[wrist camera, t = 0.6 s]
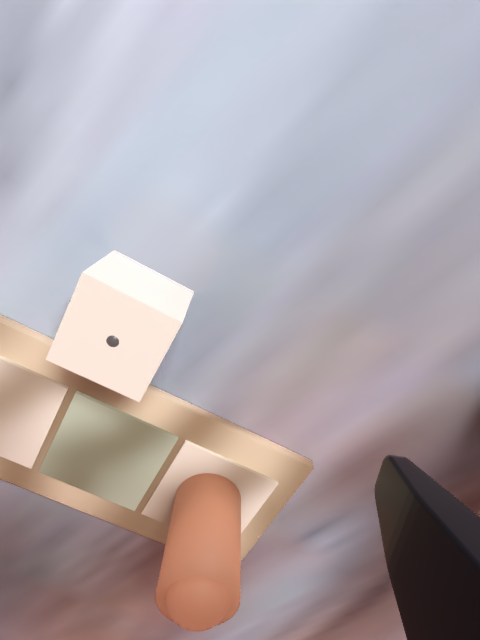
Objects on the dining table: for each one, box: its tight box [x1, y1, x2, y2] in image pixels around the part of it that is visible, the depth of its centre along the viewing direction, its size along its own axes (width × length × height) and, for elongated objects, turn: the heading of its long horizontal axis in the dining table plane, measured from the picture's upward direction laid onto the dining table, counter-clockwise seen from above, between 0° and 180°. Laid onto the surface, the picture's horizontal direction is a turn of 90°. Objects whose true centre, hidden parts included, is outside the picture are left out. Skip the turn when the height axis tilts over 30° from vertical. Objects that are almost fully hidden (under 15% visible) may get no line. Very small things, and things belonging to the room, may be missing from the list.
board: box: [0, 315, 314, 561], centre depth 21 cm, size 26×9×1 cm, turn 61°
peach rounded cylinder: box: [155, 473, 241, 632], centre depth 19 cm, size 4×4×6 cm
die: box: [45, 250, 194, 402], centre depth 17 cm, size 4×4×4 cm
